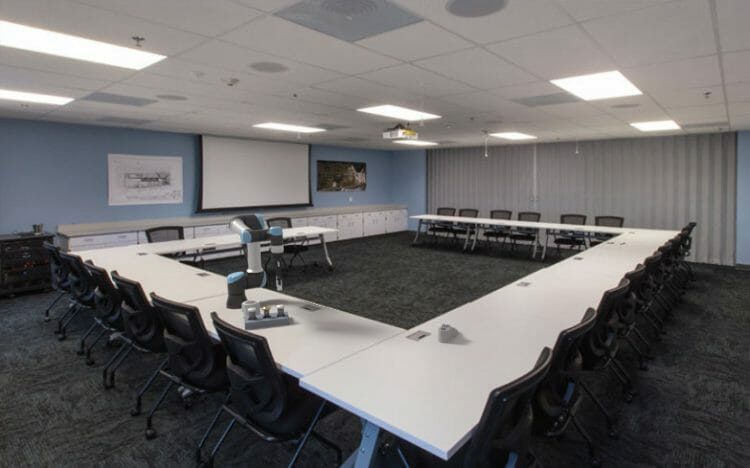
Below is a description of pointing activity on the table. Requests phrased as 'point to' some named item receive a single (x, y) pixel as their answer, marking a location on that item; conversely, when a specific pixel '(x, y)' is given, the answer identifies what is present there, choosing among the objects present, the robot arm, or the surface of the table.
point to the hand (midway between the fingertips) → (279, 288)
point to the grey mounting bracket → (446, 333)
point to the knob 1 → (252, 313)
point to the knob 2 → (280, 310)
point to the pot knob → (266, 311)
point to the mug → (250, 304)
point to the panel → (267, 321)
